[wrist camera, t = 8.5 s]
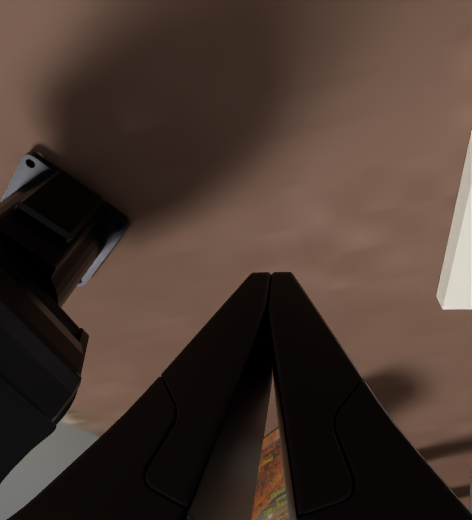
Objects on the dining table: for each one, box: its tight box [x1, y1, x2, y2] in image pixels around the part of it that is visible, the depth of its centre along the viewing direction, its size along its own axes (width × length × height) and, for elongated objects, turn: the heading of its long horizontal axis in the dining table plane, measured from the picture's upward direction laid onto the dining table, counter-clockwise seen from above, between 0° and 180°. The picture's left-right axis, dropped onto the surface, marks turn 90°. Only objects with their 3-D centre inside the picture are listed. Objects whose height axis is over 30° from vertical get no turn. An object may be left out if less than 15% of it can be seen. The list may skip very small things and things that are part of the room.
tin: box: [251, 427, 289, 520], centre depth 30 cm, size 15×3×8 cm, turn 147°
